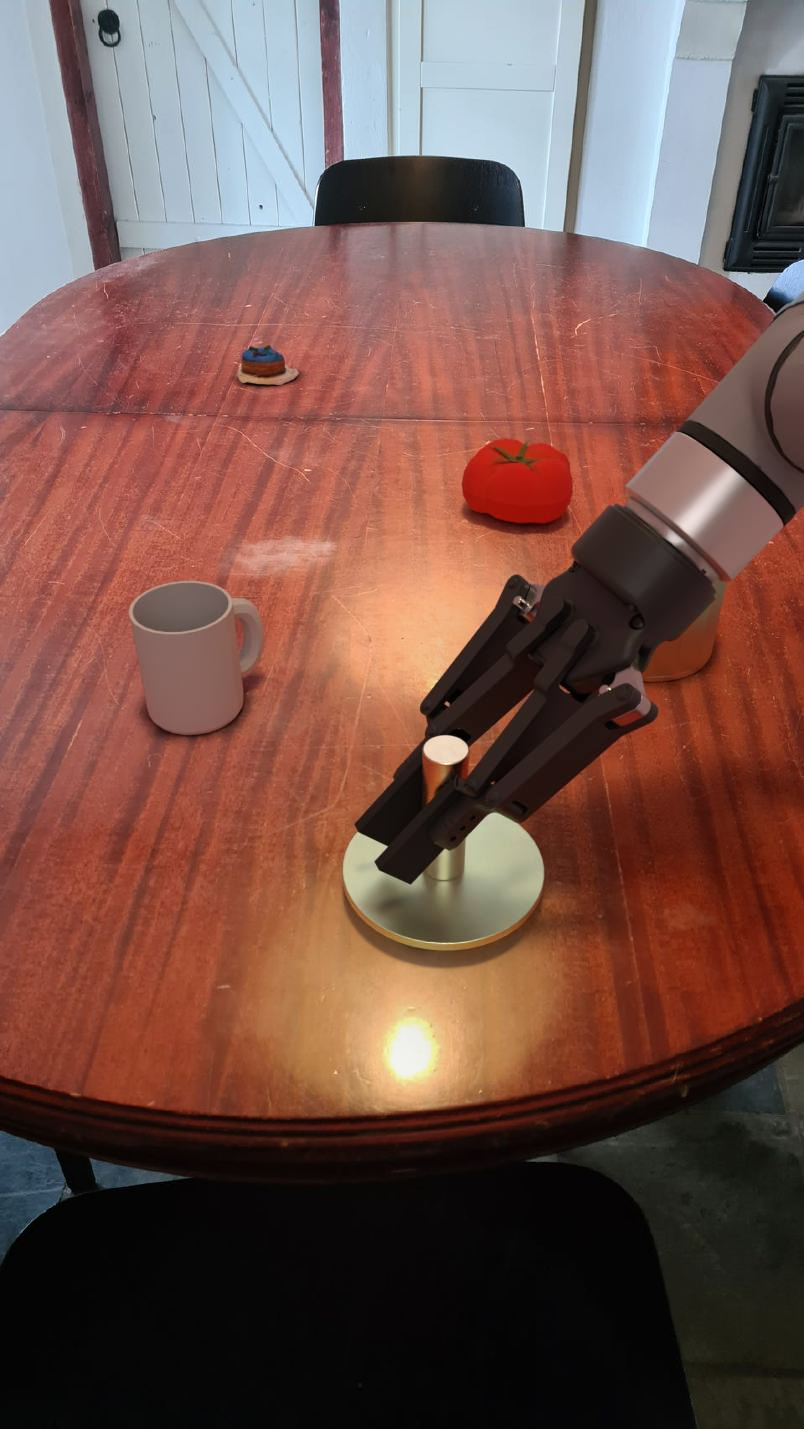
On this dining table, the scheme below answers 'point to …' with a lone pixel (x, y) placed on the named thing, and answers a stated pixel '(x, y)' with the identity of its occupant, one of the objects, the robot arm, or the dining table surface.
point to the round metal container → (687, 645)
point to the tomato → (518, 481)
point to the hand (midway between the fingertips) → (382, 853)
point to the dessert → (264, 367)
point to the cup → (194, 654)
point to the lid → (450, 874)
